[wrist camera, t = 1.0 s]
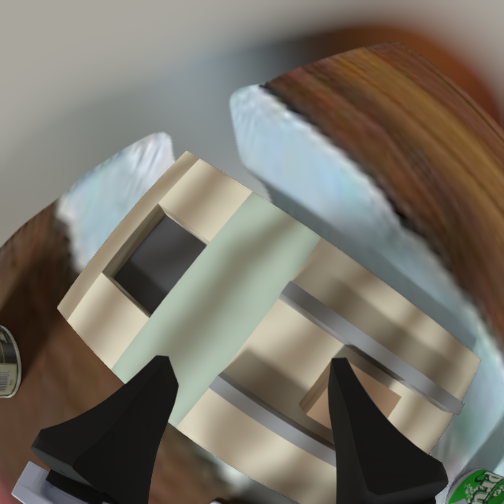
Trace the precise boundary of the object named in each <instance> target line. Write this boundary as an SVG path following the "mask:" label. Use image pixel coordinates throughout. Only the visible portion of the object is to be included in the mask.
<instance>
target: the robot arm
mask: <svg viewBox="0 0 504 504" xmlns="http://www.w3.org/2000/svg"><path fill="white" fill-rule="evenodd" d="M178 388H179V384H178V381H177V378H176V376H175V373H174V370H173V367H172V365H171V362H170V359H169V356H162V355H156V356H155V357H154V358H153V359H152V360H151V361H150V362H149V363H148V364H146V365H145V366H144V367H143V368H142V369H141V370H140V371H139V372H138V373H137V374H136V375H135V376H134V377H133V378H131V379H130V380H129V381H128V382H127V383H126V384H125V385H123V386H122V387H121V388H120V389H119V390H117V391H116V392H115V393H114V394H112V395H111V396H110V397H109V398H107V399H106V400H104V401H103V402H101V403H100V404H98V405H97V406H95V407H94V408H92V409H90V410H88V411H87V412H85V413H83V414H81V415H79V416H77V417H75V418H73V419H71V420H68V421H66V422H64V423H61V424H58V425H55V426H52V427H49V428H45V429H42V430H41V431H40V432H39V434H38V436H37V437H36V439H35V440H34V442H33V444H32V445H31V450H32V451H33V453H34V454H35V455H36V456H37V457H38V458H39V459H40V460H41V461H43V462H44V463H45V464H46V465H47V466H48V467H49V468H50V469H51V470H50V472H49V473H48V472H47V471H46V470H44V469H43V468H41V467H39V466H37V465H36V464H34V463H33V462H31V461H29V462H28V464H27V466H26V467H25V469H24V471H23V473H22V475H21V476H20V478H19V480H18V482H17V484H16V485H15V487H14V489H13V491H12V495H13V496H14V497H16V498H17V499H18V500H20V501H21V502H22V503H24V504H148V499H149V490H150V484H151V477H152V472H153V467H154V462H155V458H156V454H157V450H158V447H159V444H160V441H161V438H162V435H163V433H164V430H165V428H166V425H167V423H168V420H169V418H170V415H171V412H172V410H173V407H174V405H175V401H176V397H177V393H178ZM328 407H329V414H330V421H331V427H332V433H333V439H334V446H335V454H336V504H436V499H435V496H436V495H437V494H438V493H440V492H441V491H442V490H443V489H444V488H445V487H446V486H447V485H448V482H449V481H448V477H447V474H446V471H445V469H444V467H443V464H442V463H441V462H440V461H438V460H436V459H435V458H433V457H432V456H430V455H429V454H427V453H426V452H424V451H423V450H421V449H420V448H419V447H417V446H416V445H415V444H414V443H412V442H411V441H410V440H409V439H408V438H407V437H405V436H404V435H403V434H402V433H401V432H400V431H399V430H398V429H397V428H396V427H395V426H394V425H393V424H392V423H391V422H390V421H389V420H388V419H387V418H386V417H385V415H384V414H383V413H382V412H381V411H380V409H379V408H378V407H377V406H376V404H375V403H374V402H373V400H372V399H371V398H370V396H369V395H368V393H367V392H366V390H365V389H364V387H363V386H362V384H361V383H360V381H359V379H358V378H357V376H356V374H355V373H354V371H353V369H352V367H351V365H350V363H349V361H348V359H347V358H346V357H343V358H331V366H330V374H329V382H328ZM210 504H221V503H219V502H217V501H213V502H211V503H210ZM452 504H467V501H466V499H462V500H460V501H457V502H455V503H452Z"/></svg>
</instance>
